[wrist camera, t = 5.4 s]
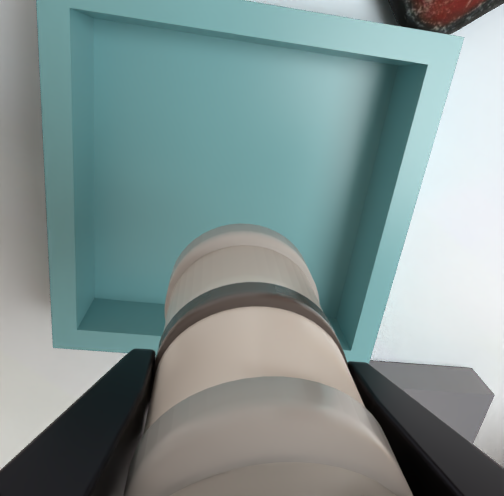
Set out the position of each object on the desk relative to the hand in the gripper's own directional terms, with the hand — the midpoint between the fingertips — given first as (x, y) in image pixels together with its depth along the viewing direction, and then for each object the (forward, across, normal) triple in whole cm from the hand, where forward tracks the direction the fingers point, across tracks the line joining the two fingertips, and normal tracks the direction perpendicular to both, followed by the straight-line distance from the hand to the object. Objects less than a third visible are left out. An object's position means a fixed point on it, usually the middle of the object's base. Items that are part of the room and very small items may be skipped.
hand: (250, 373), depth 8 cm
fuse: (+4, 0, 0) cm, 4 cm away
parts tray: (+12, 0, 0) cm, 12 cm away
